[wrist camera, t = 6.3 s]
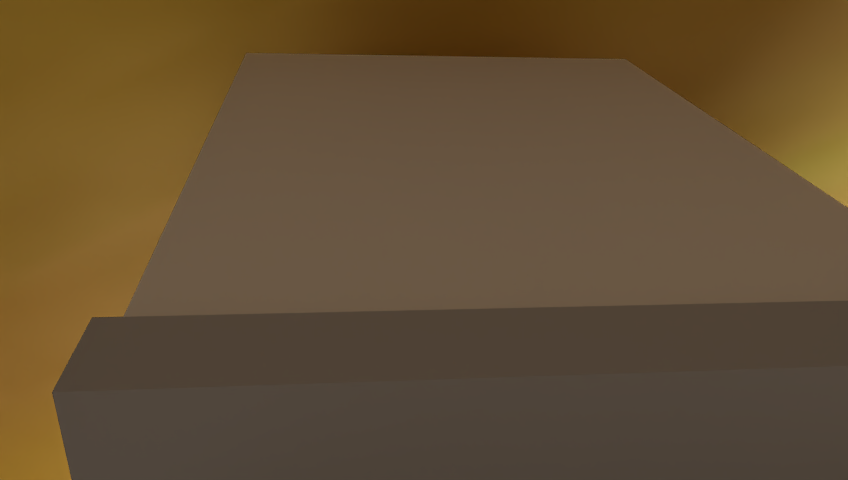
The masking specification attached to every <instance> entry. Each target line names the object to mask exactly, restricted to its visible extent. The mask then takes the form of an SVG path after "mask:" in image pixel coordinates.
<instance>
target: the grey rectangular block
mask: <svg viewBox="0 0 848 480" xmlns="http://www.w3.org/2000/svg"><path fill="white" fill-rule="evenodd" d="M52 394H53V398H54V403H55V407H56V412H57V416H58V421H59V425H60V429H61V434H62V438H63V443H64V447H65V452H66V456H67V461H68V465H69V470H70V474H71V478H72V480H848V208H847V207H846V206H844V205H843V204H841V203H840V202H838V201H837V200H835V199H834V198H832V197H831V196H829V195H828V194H826V193H825V192H823V191H822V190H820V189H819V188H817V187H816V186H814V185H813V184H811V183H810V182H808V181H807V180H805V179H804V178H802V177H801V176H799V175H798V174H796V173H795V172H793V171H792V170H790V169H789V168H788V167H786V166H785V165H783V164H782V163H780V162H779V161H777V160H776V159H774V158H773V157H771V156H770V155H768V154H767V153H765V152H764V151H762V150H761V149H759V148H758V147H756V146H755V145H753V144H752V143H750V142H749V141H747V140H746V139H744V138H743V137H741V136H740V135H738V134H737V133H735V132H734V131H732V130H731V129H729V128H728V127H726V126H725V125H723V124H722V123H720V122H719V121H717V120H716V119H714V118H713V117H711V116H710V115H708V114H707V113H705V112H704V111H702V110H701V109H699V108H698V107H696V106H695V105H693V104H692V103H690V102H689V101H687V100H686V99H684V98H683V97H681V96H680V95H678V94H677V93H675V92H674V91H672V90H671V89H669V88H668V87H666V86H665V85H663V84H662V83H660V82H659V81H657V80H656V79H654V78H653V77H651V76H650V75H649V74H647V73H646V72H644V71H643V70H641V69H640V68H638V67H637V66H635V65H634V64H632V63H631V62H629V61H628V60H626V59H591V58H530V57H468V56H407V55H346V54H285V53H246V55H245V57H244V59H243V61H242V63H241V65H240V68H239V70H238V72H237V74H236V76H235V78H234V80H233V83H232V85H231V87H230V89H229V91H228V93H227V95H226V98H225V100H224V102H223V104H222V106H221V108H220V111H219V113H218V115H217V117H216V119H215V121H214V123H213V126H212V128H211V130H210V132H209V134H208V136H207V138H206V141H205V143H204V145H203V147H202V149H201V151H200V153H199V156H198V158H197V160H196V162H195V164H194V166H193V169H192V171H191V173H190V175H189V177H188V179H187V181H186V184H185V186H184V188H183V190H182V192H181V194H180V196H179V199H178V201H177V203H176V205H175V207H174V209H173V211H172V214H171V216H170V218H169V220H168V222H167V224H166V227H165V229H164V231H163V233H162V235H161V237H160V239H159V242H158V244H157V246H156V248H155V250H154V252H153V254H152V257H151V259H150V261H149V263H148V265H147V267H146V269H145V272H144V274H143V276H142V278H141V280H140V282H139V285H138V287H137V289H136V291H135V293H134V295H133V297H132V300H131V302H130V304H129V306H128V308H127V310H126V312H125V315H124V317H92V319H91V320H90V322H89V324H88V326H87V328H86V330H85V332H84V334H83V335H82V337H81V339H80V341H79V343H78V345H77V347H76V349H75V350H74V352H73V354H72V356H71V358H70V360H69V362H68V364H67V365H66V367H65V369H64V371H63V373H62V375H61V377H60V379H59V380H58V382H57V384H56V386H55V388H54V390H53V392H52Z"/></svg>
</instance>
